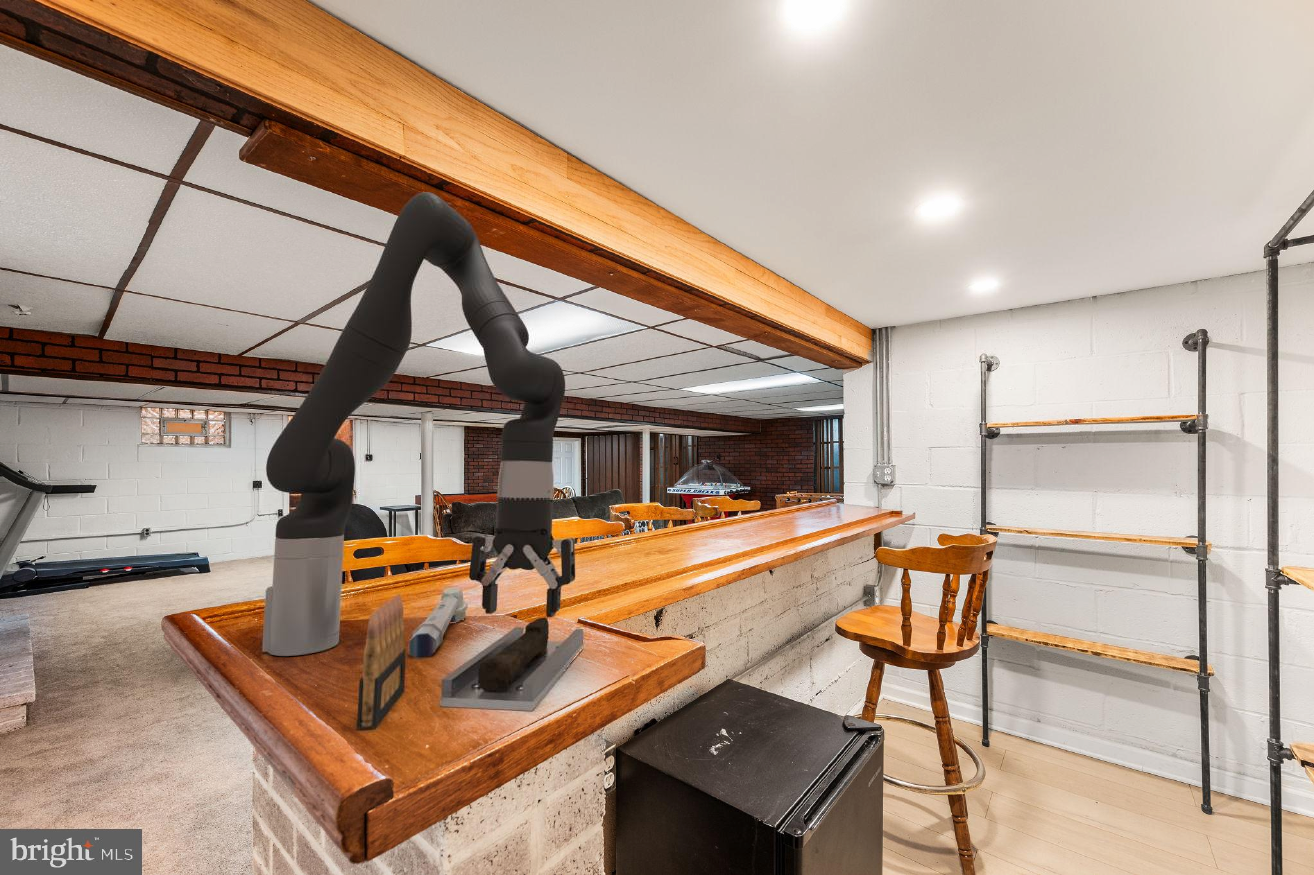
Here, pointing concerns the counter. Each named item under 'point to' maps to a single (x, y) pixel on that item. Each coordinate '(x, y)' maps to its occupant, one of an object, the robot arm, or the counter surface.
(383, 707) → the ammunition clip
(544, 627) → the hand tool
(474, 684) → the grey channel tray
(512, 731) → the counter surface
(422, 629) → the grey plastic handle
